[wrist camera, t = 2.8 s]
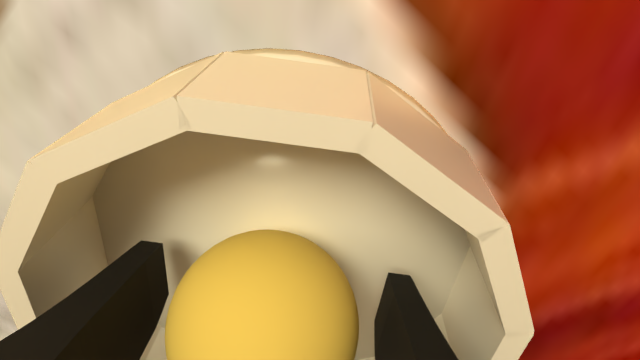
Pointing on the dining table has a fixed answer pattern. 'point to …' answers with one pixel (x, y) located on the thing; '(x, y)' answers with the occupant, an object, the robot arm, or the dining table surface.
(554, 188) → the dining table surface
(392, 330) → the robot arm
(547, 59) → the dining table surface
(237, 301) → the ball
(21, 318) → the bowl
